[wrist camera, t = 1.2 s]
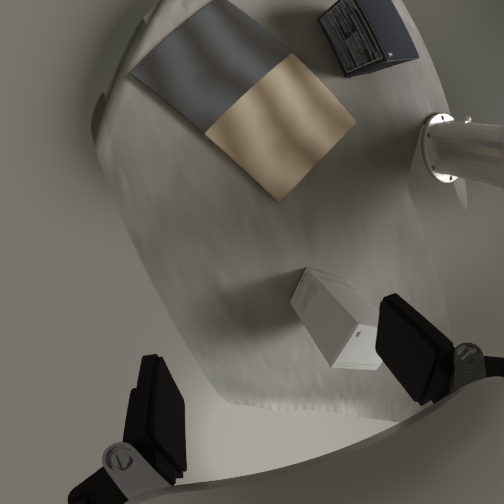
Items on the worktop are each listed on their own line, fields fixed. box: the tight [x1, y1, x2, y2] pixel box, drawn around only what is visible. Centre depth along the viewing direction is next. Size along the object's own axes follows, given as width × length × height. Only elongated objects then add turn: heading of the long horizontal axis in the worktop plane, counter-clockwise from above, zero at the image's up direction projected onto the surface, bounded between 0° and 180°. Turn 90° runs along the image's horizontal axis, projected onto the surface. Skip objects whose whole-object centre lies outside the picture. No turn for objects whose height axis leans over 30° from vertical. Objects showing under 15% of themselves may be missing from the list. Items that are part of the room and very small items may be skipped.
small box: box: [318, 0, 419, 78], centre depth 25 cm, size 11×6×10 cm, turn 23°
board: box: [131, 0, 357, 202], centre depth 31 cm, size 16×26×1 cm, turn 46°
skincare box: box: [290, 268, 382, 370], centre depth 36 cm, size 8×7×16 cm
